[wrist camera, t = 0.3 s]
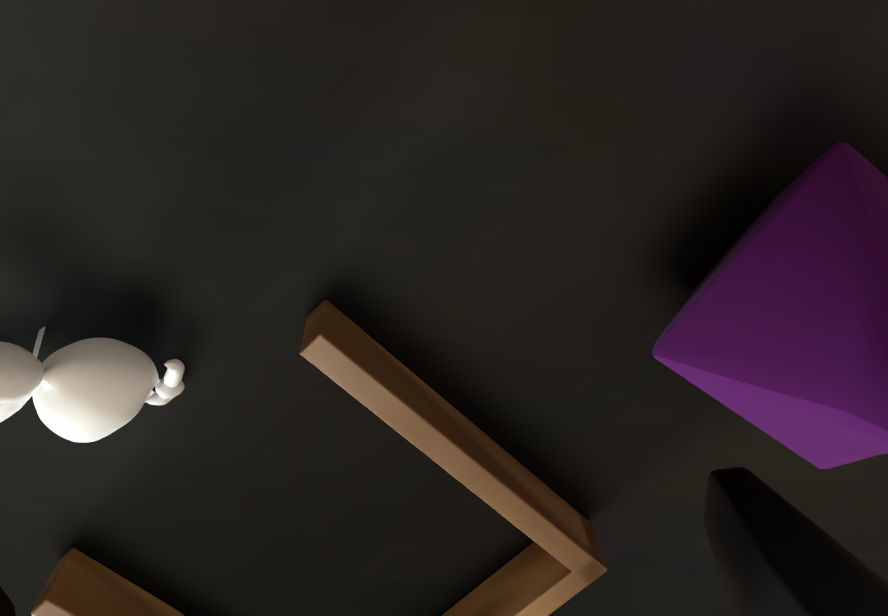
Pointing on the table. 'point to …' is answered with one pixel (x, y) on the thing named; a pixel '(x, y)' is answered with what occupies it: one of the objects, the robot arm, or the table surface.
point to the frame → (444, 441)
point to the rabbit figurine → (84, 385)
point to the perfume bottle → (800, 316)
